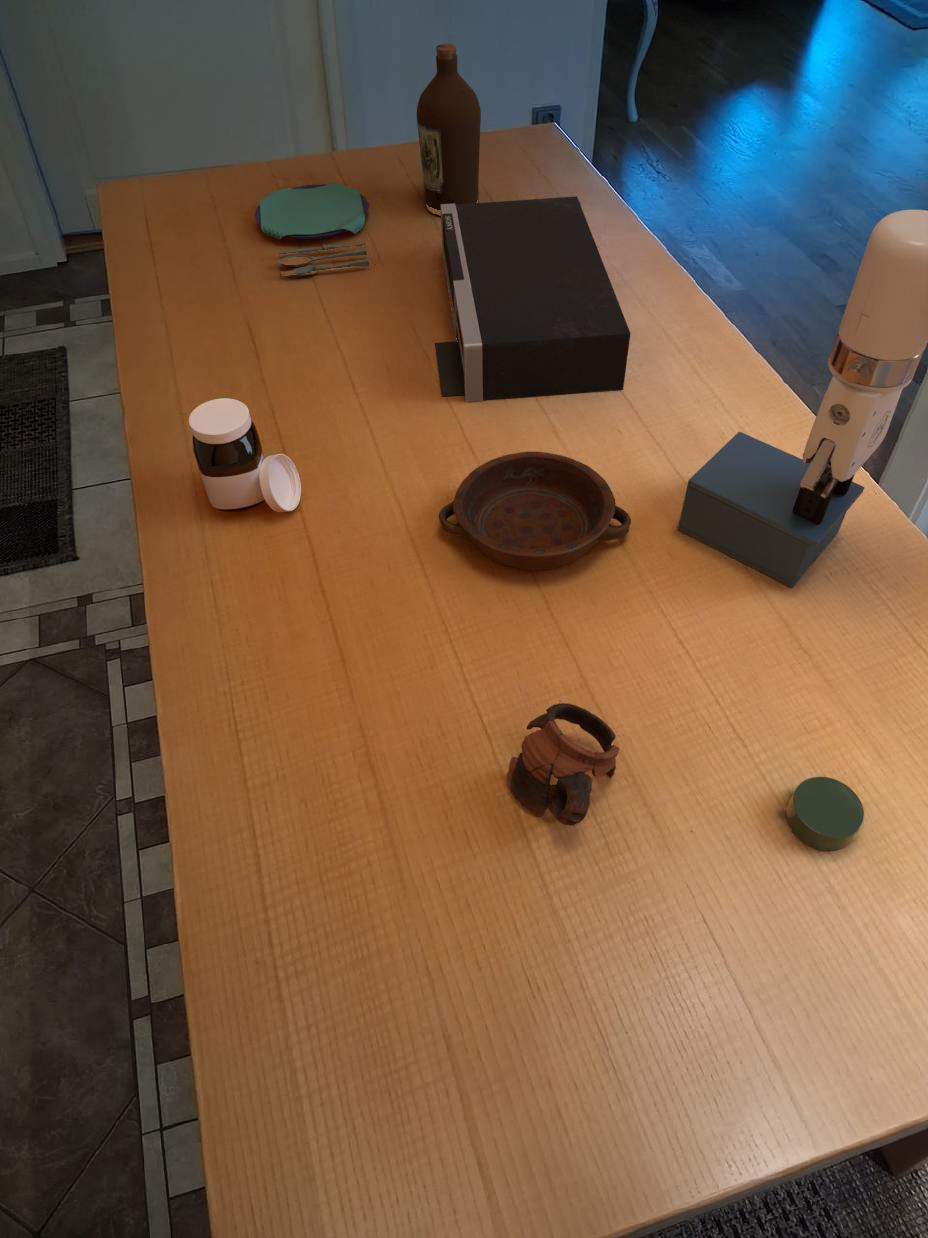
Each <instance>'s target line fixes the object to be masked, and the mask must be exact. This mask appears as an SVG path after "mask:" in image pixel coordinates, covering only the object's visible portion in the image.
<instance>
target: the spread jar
mask: <svg viewBox="0 0 928 1238" xmlns="http://www.w3.org/2000/svg"><path fill="white" fill-rule="evenodd" d="M188 424H189V427H190V430H191V433H192V449H193V454H194V457H195V462H196V464H197V468H198V471H199V474H200V477H201V480H202V483H203V486H204V490H205V493H206V495H207V498H208V501H209V504H210V505H211V506H212V508H214V509H215V510H217V511H219V512H225V513H240V512H241V513H242V512H247V511H249V510H252V509H254V508H257V507H259V506H260V505H263V504H264V503H266V504H267V505H268V506H269V507H270V509H271V510H273V511H274V512H276V513H287V512H292V511H294V510H295V509H297V507H298V506H299V503H300V501H301V498H302V484H301V478H300V474H299V471H298V469H297V467H296V465H295V462H293V460H292V459H291V458H290V457H289V456H287V455H285V454H283V453H278V454H277V453H276V454H272V455H268V456H266V457H265V455H264V451H263V447H262V442H261V439H260V435H259V432H258V429H257V426H256V424H255V422H254V421H253V420H252V418H251V414H250V410H249V408H248V406H247V405H246V404H245V403H244V402H242V401H240V400H238V399H233V398H228V397H226V398H224V397H222V398H215V399H211V400H208V401H205V402H203V403H201V404H199V405H198V406H196V407H195V408H194V409H193V410H192V412H191V413H190V414H189V417H188Z"/></svg>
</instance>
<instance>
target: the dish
mask: <svg viewBox="0 0 928 1238" xmlns="http://www.w3.org/2000/svg"><path fill="white" fill-rule="evenodd" d="M616 504H617V503H616V498H615V496H614V493H613V491H612V489H611V487H610V486H609V483H608V482H607V480H605V478H604V477H603V476H601V475H600V474H599V473H598V472H597V471H595V470H594V469H593V468H592V467H590V466H588V465H587V464H585V463H583V462H581V461H578V460H576V459H574V458H572V457H568V456H565V455H561V454H556V453H551V452H545V451H521V452H516V453H509V454H505V455H501V456H499V457H496V458H493V459H490V460H488V461H486V462H485V463H483V464H481V465H479V466H477V467H476V468H474V469H473V470H472V471H471V472H469V474H468V475H467V476H466V477H465V478H464V479H463V480H462V482H461V483H460V485H459V486H458V488H457V490H456V492H455V494H454V497H453V501H451V502H449V503H447V504H446V505H445V506H443V507H442V508H441V509H440V511H439V513H438V521H439V524H440V526H441V528H442V530H444V531H445V532H446V533H448V534H450V535H452V536H457V537H461V538H462V537H464V538H467V539H469V540H471V541H472V542H473V543H474V545H475V546H476V547H477V548H478V550H479V551H480V552H481V553H482V554H484V556H485V557H488V558H489V559H491V560H492V561H494V562H497V563H498V564H501V565H504V566H507V567H510V568H515V569H521V570H529V571H530V570H531V571H532V570H533V571H534V570H536V571H538V570H539V571H540V570H541V571H543V570H551V569H555V568H559V567H563V566H565V565H568V564H572V563H574V562H576V561H577V560H579V559H580V558H582V557H583V556H584V555H585V554H587V553H588V552H589V551H590V549H592V547H593V546H594V545H596V544H597V543H599V542H608V541H609V542H610V541H614V540H618V539H622V538H624V537H626V536H627V535H628V533H629V532H630V526H631V524H632V519H631V516H630V514H629V512H627V511H626V510H625V509H624V508H622V507H620V506H618V505H616ZM452 516H454V517H455V519H456V520H457V522H451V521H449V520H448V519H449V518H450V517H452ZM612 520H615V521H617V522H618V523H620V525H611V522H612Z"/></svg>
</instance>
